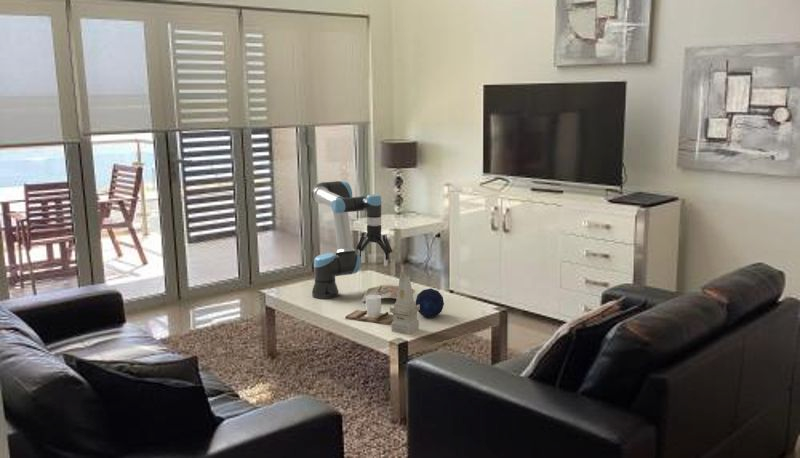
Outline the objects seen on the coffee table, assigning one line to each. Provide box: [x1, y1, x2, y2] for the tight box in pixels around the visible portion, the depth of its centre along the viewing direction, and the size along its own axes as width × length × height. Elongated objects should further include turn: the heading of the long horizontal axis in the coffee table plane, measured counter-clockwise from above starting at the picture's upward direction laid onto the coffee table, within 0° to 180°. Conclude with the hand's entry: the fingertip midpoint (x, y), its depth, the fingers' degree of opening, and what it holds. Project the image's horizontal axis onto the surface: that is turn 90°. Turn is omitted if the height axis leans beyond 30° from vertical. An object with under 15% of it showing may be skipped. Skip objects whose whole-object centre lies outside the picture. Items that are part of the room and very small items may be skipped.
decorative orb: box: [415, 287, 445, 319], centre depth 355 cm, size 14×15×15 cm
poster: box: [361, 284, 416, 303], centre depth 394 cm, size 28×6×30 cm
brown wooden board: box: [345, 309, 393, 326], centre depth 354 cm, size 25×12×2 cm, turn 64°
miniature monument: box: [389, 269, 420, 335], centre depth 333 cm, size 10×10×30 cm
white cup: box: [365, 295, 382, 318], centre depth 353 cm, size 8×8×10 cm
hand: (374, 264), depth 366 cm, fingers open, 13 cm apart
